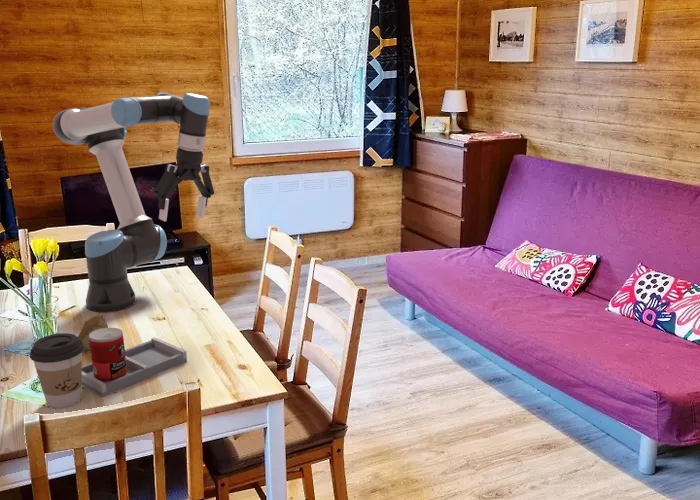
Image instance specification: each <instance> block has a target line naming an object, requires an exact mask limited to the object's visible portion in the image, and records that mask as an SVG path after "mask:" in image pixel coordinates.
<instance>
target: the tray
mask: <svg viewBox="0 0 700 500" xmlns="http://www.w3.org/2000/svg"><path fill="white" fill-rule="evenodd" d="M125 356H126V366H127V371H126V374H125V375H124V376H123V377H120V378H118V379H115V380H113V381H100V380H98V379H96V378H95V376H94V373H93V366H92V362H90V363H87V364H84V365H82V387H85V388H87V389H88V390H90V391H92V392H93V393H96V394H97V395H99V396H100V397H102V398H103V397H106V396H108V395H111V394H113V393H115V392H118V391H120V390H123V389H125V388H128V387H129V386H132V385H134V384H137V383H139V382H142V381H144V380H147V379H150V378H151V377H153V376H156V375H159V374H160V373H163V372H165V371H168V370H170V369H173V368H175V367H177V366H180V365H182V364H185V363H186V362H188V359H187V357H188V355H187V350H185V349H183V348H181V347H178V346H176V345H173V344H171V343H168V342H167V341H163V340H162V339H160V338H157V337H152V338H150V340H148V341H145V342H143V343H141V344H138V345H135V346H132V347H128V348H125Z"/></svg>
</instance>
